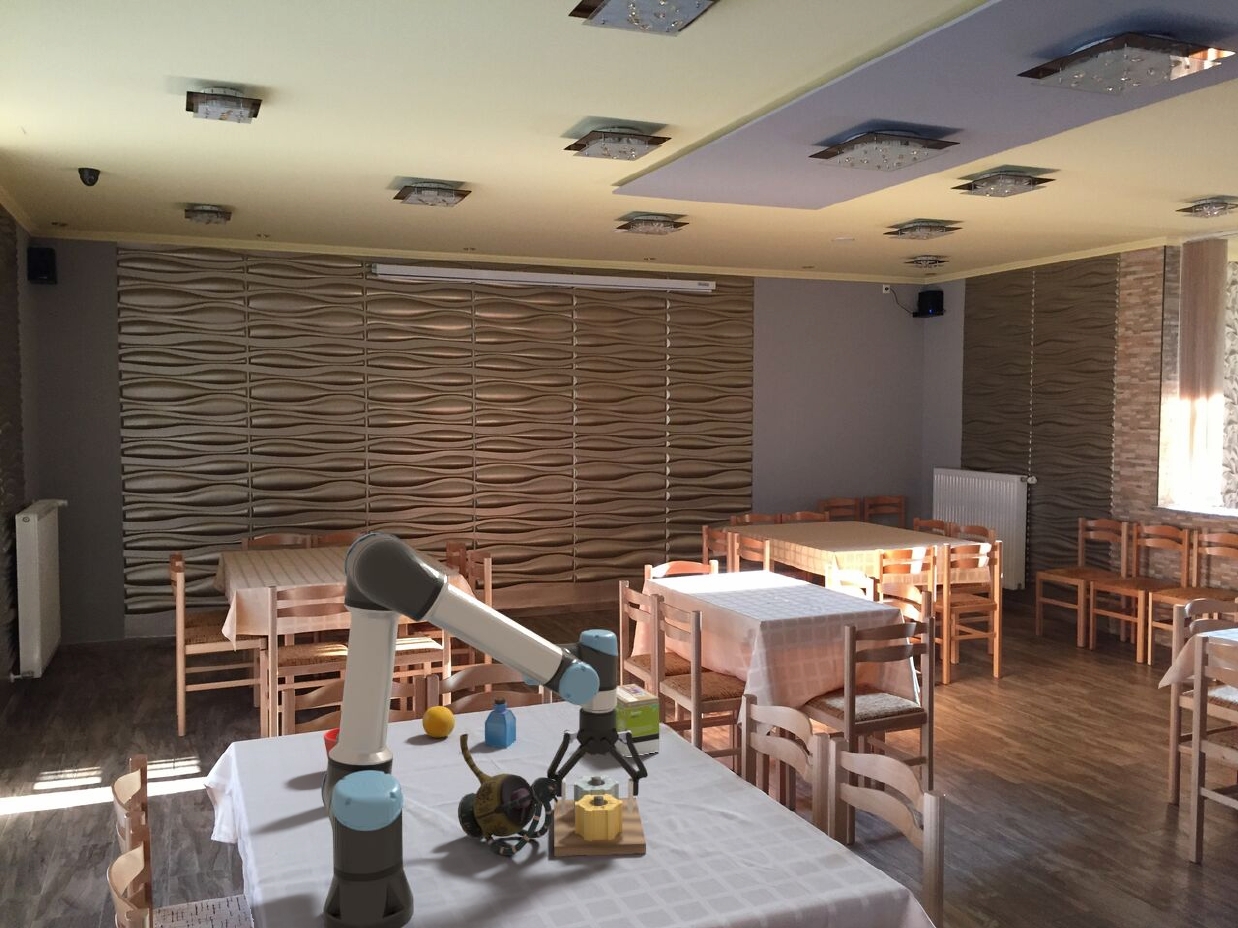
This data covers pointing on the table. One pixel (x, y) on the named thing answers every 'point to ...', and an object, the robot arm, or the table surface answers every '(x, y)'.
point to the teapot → (505, 806)
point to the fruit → (438, 721)
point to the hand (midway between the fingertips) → (596, 811)
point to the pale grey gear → (595, 787)
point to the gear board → (576, 845)
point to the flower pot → (331, 739)
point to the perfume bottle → (500, 725)
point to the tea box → (637, 718)
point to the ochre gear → (598, 818)
